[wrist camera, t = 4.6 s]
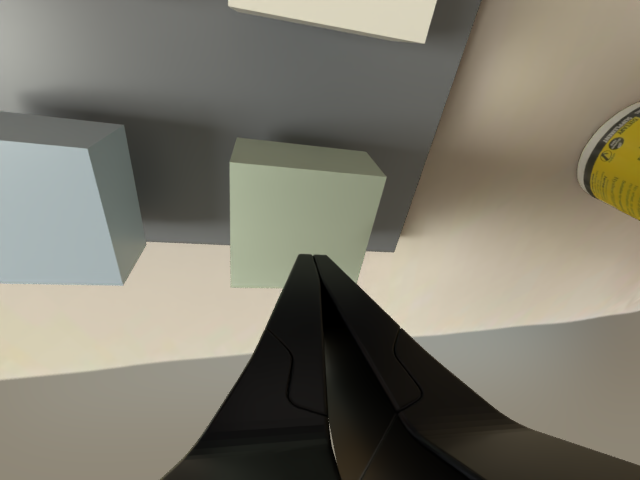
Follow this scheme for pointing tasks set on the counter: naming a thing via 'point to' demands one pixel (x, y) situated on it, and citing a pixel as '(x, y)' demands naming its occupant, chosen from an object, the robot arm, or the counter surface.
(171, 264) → the counter surface
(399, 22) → the cream key
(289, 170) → the sage green key
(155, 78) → the keypad base
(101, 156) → the slate blue key
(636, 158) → the supplement bottle
